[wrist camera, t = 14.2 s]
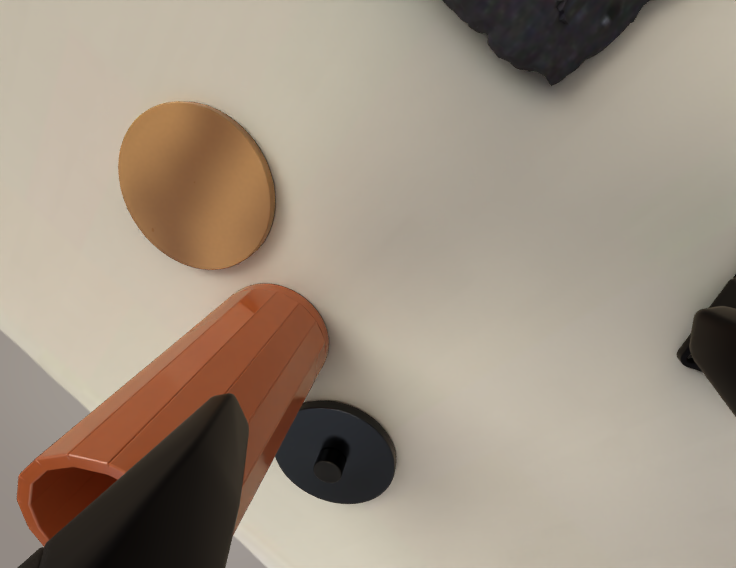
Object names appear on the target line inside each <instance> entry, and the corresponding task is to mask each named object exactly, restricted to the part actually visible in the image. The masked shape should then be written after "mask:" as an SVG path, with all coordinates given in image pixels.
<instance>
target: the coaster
mask: <svg viewBox="0 0 736 568" xmlns="http://www.w3.org/2000/svg"><path fill="white" fill-rule="evenodd" d="M118 170H119V181H120V187H121V191H122V195H123V198H124V201H125V203H126V206H127V208H128V210H129V212H130V214H131V216H132V218H133V220H134V221H135V223H136V225H137V226H138V228H139V229H140V230H141V231H142V233H143V234H144V235H145V236H146V238H147V239H148V240H149V241H150V242H151V243H152V244H153V245H154V246H156V247H157V248H158V249H159V250H160V251H162V252H163V253H164V254H166V255H167V256H169V257H170V258H172V259H174V260H176V261H178V262H180V263H182V264H185V265H187V266H191V267H194V268H199V269H209V270H216V269H224V268H228V267H231V266H234V265H236V264H238V263H240V262H242V261H243V260H245V259H247V258H248V257H249V256H251V255H252V254H253V253H254V252H255V251H256V250H258V248H259V247H260V246H261V245H262V244H263V242H264V240H265V239H266V237H267V235H268V233H269V231H270V228H271V226H272V222H273V218H274V212H275V191H274V184H273V180H272V176H271V172H270V170H269V167H268V164H267V162H266V160H265V158H264V156H263V154H262V152H261V150H260V149H259V147H258V146H257V144H256V143H255V141H254V140H253V139H252V137H251V136H250V135H249V134H248V133H247V132H246V130H244V129H243V128H242V127H241V126H240V125H239V124H238V123H237V122H236V121H234V120H233V119H232V118H230V117H229V116H228V115H226V114H224V113H222V112H221V111H219V110H217V109H215V108H212V107H210V106H207V105H203V104H199V103H194V102H168V103H163V104H159V105H157V106H154V107H152V108H150V109H148V110H147V111H145V112H144V113H142V114H141V115H140V116H139V117H138V118H137V119H136V120H135V121H134V122H133V123H132V125H131V126H130V127H129V129H128V131H127V133H126V135H125V137H124V139H123V142H122V145H121V149H120V154H119V164H118Z"/></svg>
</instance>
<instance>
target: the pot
mask: <svg viewBox="0 0 736 568" xmlns="http://www.w3.org/2000/svg"><path fill="white" fill-rule="evenodd" d="M328 349H329V338H328V333H327V329H326V326H325V323H324V321H323V319H322V317H321V316H320V314H319V313H318V311H317V310H316V309H315V308H314V306H313V305H312V304H311V303H310V302H309V301H308V300H306V299H305V298H304V297H302V296H301V295H300V294H298V293H296V292H295V291H293V290H290V289H288V288H286V287H283V286H280V285H275V284H255V285H250V286H247V287H245V288H243V289H241V290H239V291H238V292H236V293H235V294H233V295H232V296H231V297H230V298H228V299H227V300H226V301H225V302H224V303H222V304H221V305H220V306H219V307H218V308H216V309H215V310H214V311H213V312H211V313H210V314H209V315H208V316H207V317H205V318H204V319H203V320H202V321H201V322H199V323H198V324H197V325H196V326H195V327H193V328H192V329H191V330H190V331H189V332H187V333H186V334H185V335H184V336H183V337H181V338H180V339H179V340H178V341H177V342H175V343H174V344H173V345H172V346H171V347H169V348H168V349H167V350H166V351H165V352H163V353H162V354H161V355H160V356H158V357H157V358H156V359H155V360H154V361H152V362H151V363H150V364H149V365H148V366H146V367H145V368H144V369H143V370H142V371H140V372H139V373H138V374H137V375H136V376H134V377H133V378H132V379H131V380H130V381H128V382H127V383H126V384H125V385H124V386H122V387H121V388H120V389H119V390H118V391H116V392H115V393H114V394H113V395H112V396H110V397H109V398H108V399H107V400H105V401H104V402H103V403H102V404H101V405H99V406H98V407H97V408H96V409H95V410H93V411H92V412H91V413H90V414H89V415H87V416H86V417H85V418H84V419H83V420H81V421H80V422H79V423H78V424H77V425H75V426H74V427H73V428H72V429H71V430H70V431H68V432H67V433H66V434H65V435H63V436H62V437H61V438H60V439H59V440H57V441H56V442H55V443H54V444H52V445H51V446H50V447H49V448H48V449H47V450H46V451H44V452H43V453H42V454H40V455H39V456H38V457H37V458H36V459H35V460H34V461H33V462H31V463H30V465H28V466H27V467H26V468H25V469H24V470H23V471H22V472H21V473H20V475H19V477H18V489H17V502H18V504H19V506H20V509H21V511H22V514H23V516H24V518H25V520H26V523H27V525H28V527H29V529H30V530H31V531H32V533H33V534H34V535H35V536H36V537H37V538H38V540H39V541H40V542H41V543H42V545H43V546H45V544H46V542H47V541H49V540H50V539H51V538H52V537H53V536H54V535H55V534H57V533H58V532H59V531H60V530H61V529H62V528H63V527H65V526H66V525H67V524H68V523H69V522H70V521H71V520H72V519H74V518H75V517H76V516H77V515H78V514H79V513H80V512H82V511H83V510H84V509H85V508H86V507H87V506H88V505H89V504H91V503H92V502H93V501H94V500H95V499H96V498H97V497H99V496H100V495H101V494H102V493H103V492H104V491H105V490H107V489H108V488H109V487H110V486H111V485H112V484H113V483H114V482H116V481H117V480H118V479H119V478H120V477H121V476H122V475H124V474H125V473H126V472H127V471H128V470H129V469H130V468H131V467H133V466H134V465H135V464H136V463H137V462H138V461H139V460H141V459H142V458H143V457H144V456H145V455H146V454H147V453H149V452H150V451H151V450H152V449H153V448H154V447H155V446H156V445H158V444H159V443H160V442H161V441H162V440H163V439H164V438H166V437H167V436H168V435H169V434H170V433H171V432H172V431H173V430H175V429H176V428H177V427H178V426H179V425H180V424H181V423H183V422H184V421H185V420H186V419H187V418H188V417H189V416H191V415H192V414H193V413H194V412H195V411H196V410H197V409H198V408H200V407H201V406H202V405H203V404H204V403H205V402H206V401H208V400H209V399H210V398H211V397H213V396H216V395H221V394H227V393H231V394H234V395H235V397H236V398H237V400H238V402H239V404H240V406H241V409H242V411H243V413H244V415H245V417H246V419H247V422H248V425H249V437H248V445H247V453H246V461H245V469H244V476H243V484H242V492H241V499H240V505H239V510H238V515H237V520H236V524H235V528H234V532H233V535H234V533H235V531H236V529H237V527H238V525H239V523H240V521H241V519H242V518H243V516H244V514H245V512H246V510H247V508H248V506H249V504H250V502H251V501H252V499H253V497H254V495H255V493H256V491H257V489H258V487H259V485H260V484H261V482H262V480H263V478H264V476H265V474H266V472H267V470H268V468H269V466H270V465H271V463H272V461H273V459H274V457H275V455H276V453H277V451H278V449H279V448H280V446H281V444H282V442H283V440H284V438H285V436H286V434H287V432H288V430H289V429H290V427H291V425H292V423H293V421H294V419H295V417H296V415H297V413H298V412H299V410H300V408H301V406H302V404H303V402H304V400H305V398H306V396H307V395H308V393H309V391H310V389H311V387H312V385H313V383H314V381H315V379H316V377H317V376H318V374H319V372H320V370H321V368H322V366H323V364H324V362H325V360H326V358H327V354H328Z"/></svg>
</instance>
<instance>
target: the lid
mask: <svg viewBox="0 0 736 568" xmlns="http://www.w3.org/2000/svg"><path fill="white" fill-rule="evenodd" d="M275 457H276V460H277V462H278V464H279V466H280V468H281V469H282V471H283V472H284V473H285V475H286V476H287V477H288V478H289V479H290V480H291V481H292V482H293V483H294V484H295V485H297V486H298V487H299V488H301V489H302V490H304V491H305V492H307V493H309V494H311V495H313V496H315V497H317V498H320V499H323V500H326V501H329V502H334V503H340V504H356V503H363V502H366V501H369V500H372V499H374V498H376V497H377V496H379V495H381V494H382V493H383V492H384V491H385V490H386V489H387V488H388V487H389V485H390V483H391V482H392V479H393V477H394V473H395V467H396V453H395V449H394V446H393V443H392V441H391V439H390V437H389V435H388V434H387V433H386V431H385V430H384V429H383V428H382V426H381V425H380V424H379V423H378V422H377V421H375V420H374V419H373V418H372V417H370V416H369V415H367V414H366V413H364V412H362V411H361V410H359V409H357V408H354V407H352V406H349V405H346V404H343V403H339V402H334V401H313V402H308V403H304V404H302V406H301V408H300V410H299V412H298V413H297V415H296V417H295V419H294V421H293V423H292V425H291V427H290V429H289V430H288V432H287V434H286V436H285V438H284V440H283V442H282V444H281V446H280V448H279V449H278V451H277V453H276V455H275Z"/></svg>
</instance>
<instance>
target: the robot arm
mask: <svg viewBox="0 0 736 568" xmlns="http://www.w3.org/2000/svg"><path fill="white" fill-rule="evenodd" d="M690 354H691V356H692V358H687V357H688V356H689V355H690ZM677 357H678V359H679V360H680V361H681V363H682V364H683V365H685V366H686V367H689V368H692V369H695V370H698V371H701V372H703V373H704V374H705V376H706V377H707V379H708V380H709V381H710V383H711V384H712V385H713V387H714V388H715V389H716V391H717V392H718V393H719V395H720V396H721V397H722V399H723V400H724V401H725V403H726V404H727V406H728V407H729V408H730V410H731V411H732V412H733V414H734V415H735V416H736V274H735V276H734V277H733V278H732V279H731V280H730V281H729V282H728V283H727V285H726V286H725V287H724V289H723V290H722V291H721V293H720V294H719V295H718V296H717V298H716V299H715V300H714V302H713V303H712V304H711V306H710V307H709V308H707V309H701V310H699V311H698V312H697V313H696V314H695V316H694V320H693V326H692V332H691V334H690V335H689V337H688V338H687V339H686V341H685V342H684V343H683V345H682V346H681V347H680V349H679V350H678V352H677ZM248 437H249V425H248V422H247V419H246V417H245V415H244V413H243V411H242V409H241V406H240V404H239V402H238V400H237V398H236V397H235V395H234V394H231V393H227V394H221V395H216V396H213V397H211V398H210V399H209V400H208V401H206V402H205V403H204V404H203V405H202V406H201V407H200V408H198V409H197V410H196V411H195V412H194V413H193V414H192V415H191V416H189V417H188V418H187V419H186V420H185V421H184V422H183V423H181V424H180V425H179V426H178V427H177V428H176V429H175V430H173V431H172V432H171V433H170V434H169V435H168V436H167V437H166V438H164V439H163V440H162V441H161V442H160V443H159V444H158V445H156V446H155V447H154V448H153V449H152V450H151V451H150V452H149V453H147V454H146V455H145V456H144V457H143V458H142V459H141V460H139V461H138V462H137V463H136V464H135V465H134V466H133V467H131V468H130V469H129V470H128V471H127V472H126V473H125V474H124V475H122V476H121V477H120V478H119V479H118V480H117V481H116V482H114V483H113V484H112V485H111V486H110V487H109V488H108V489H107V490H105V491H104V492H103V493H102V494H101V495H100V496H99V497H97V498H96V499H95V500H94V501H93V502H92V503H91V504H89V505H88V506H87V507H86V508H85V509H84V510H83V511H82V512H80V513H79V514H78V515H77V516H76V517H75V518H74V519H72V520H71V521H70V522H69V523H68V524H67V525H66V526H65V527H63V528H62V529H61V530H60V531H59V532H58V533H57V534H55V535H54V536H53V537H52V538H51V539H50V540H49V541H47V542H46V544H45V546H44V547H42V548H39V549H38V550H37V551H36V552H35V553H34V554H33V555H31V556H30V557H29V558H28V559H27V560H26V561H25V562H24V563H22V564H21V565H20V566H19V567H18V568H225V566H226V562H227V558H228V554H229V549H230V545H231V541H232V537H233V532H234V528H235V524H236V520H237V515H238V510H239V505H240V499H241V492H242V484H243V476H244V469H245V461H246V453H247V445H248Z"/></svg>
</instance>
